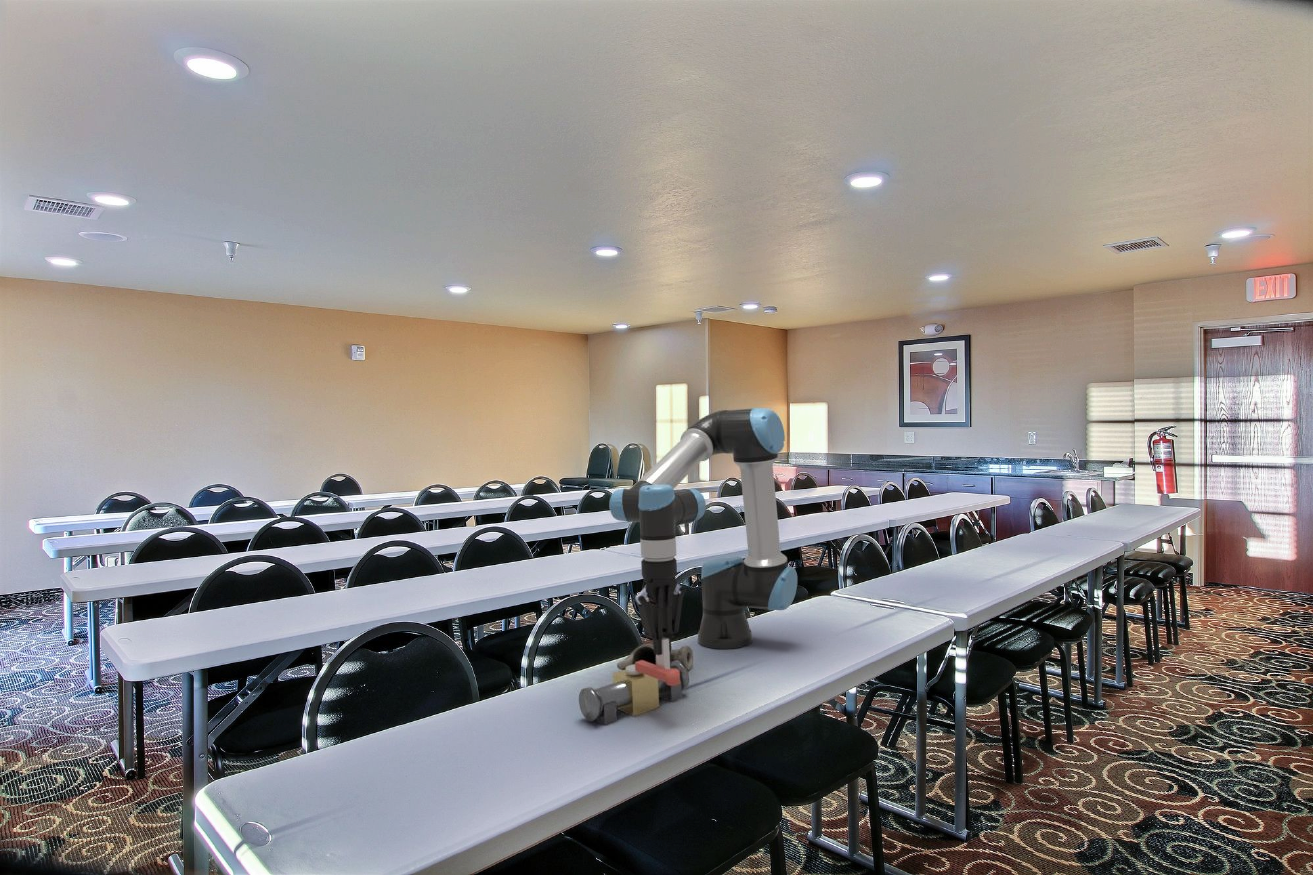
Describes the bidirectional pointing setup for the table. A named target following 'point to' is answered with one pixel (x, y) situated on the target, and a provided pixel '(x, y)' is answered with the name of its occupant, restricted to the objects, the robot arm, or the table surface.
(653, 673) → the lever
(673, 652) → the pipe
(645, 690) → the valve pipe
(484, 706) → the table surface
